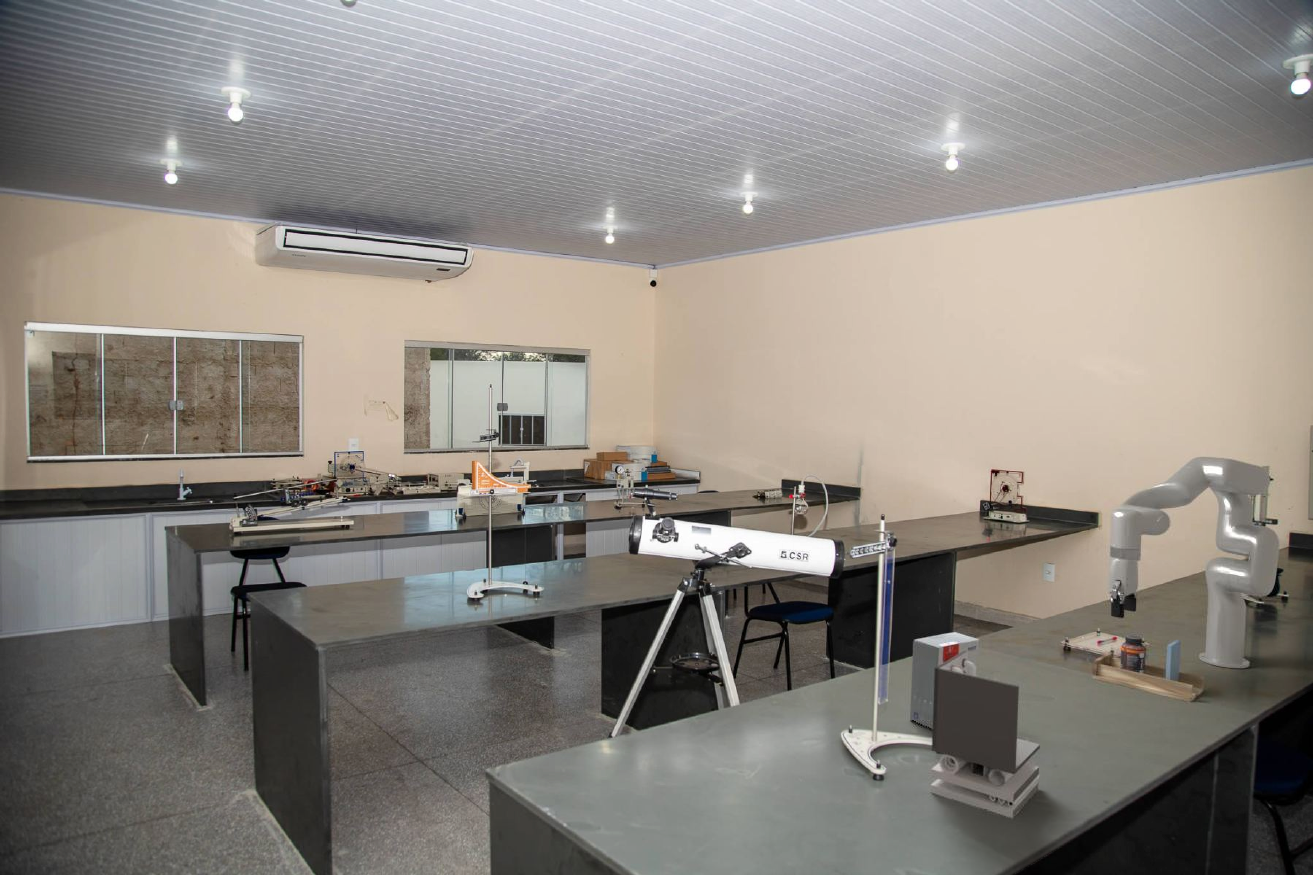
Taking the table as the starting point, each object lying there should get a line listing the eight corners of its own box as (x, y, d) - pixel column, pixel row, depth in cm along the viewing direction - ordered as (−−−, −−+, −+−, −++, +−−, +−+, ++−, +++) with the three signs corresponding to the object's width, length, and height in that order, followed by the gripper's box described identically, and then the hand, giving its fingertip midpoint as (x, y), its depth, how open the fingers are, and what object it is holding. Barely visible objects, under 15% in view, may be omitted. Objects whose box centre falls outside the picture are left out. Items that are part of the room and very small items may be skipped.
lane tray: (1108, 668, 245) (1109, 651, 245) (1204, 690, 228) (1205, 672, 227) (1092, 678, 236) (1093, 660, 236) (1190, 701, 219) (1191, 683, 218)
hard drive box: (934, 731, 197) (936, 647, 196) (908, 720, 203) (911, 639, 202) (976, 718, 205) (979, 638, 204) (950, 708, 212) (953, 630, 210)
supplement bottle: (1148, 680, 232) (1150, 640, 231) (1125, 679, 232) (1126, 639, 232) (1138, 674, 237) (1140, 634, 237) (1116, 672, 238) (1118, 633, 238)
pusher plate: (1174, 681, 231) (1176, 639, 230) (1178, 682, 230) (1180, 640, 229) (1165, 688, 225) (1167, 645, 224) (1169, 689, 224) (1171, 646, 224)
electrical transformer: (930, 792, 166) (934, 668, 165) (966, 761, 181) (970, 646, 180) (1012, 819, 156) (1017, 687, 155) (1043, 783, 171) (1048, 662, 169)
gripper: (1121, 547, 244) (1119, 605, 245) (1099, 556, 232) (1098, 617, 233) (1150, 551, 238) (1148, 610, 239) (1129, 559, 227) (1127, 622, 228)
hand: (1123, 613), depth 236 cm, fingers open, 9 cm apart
